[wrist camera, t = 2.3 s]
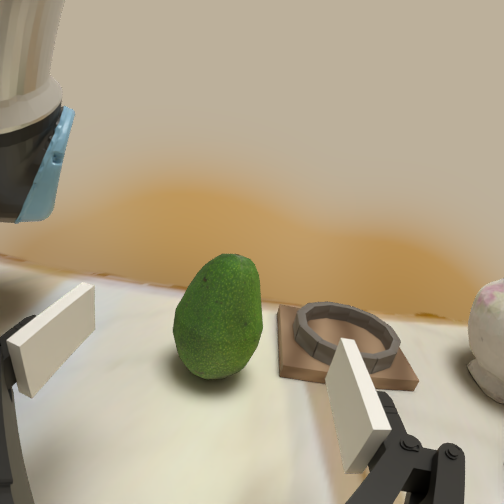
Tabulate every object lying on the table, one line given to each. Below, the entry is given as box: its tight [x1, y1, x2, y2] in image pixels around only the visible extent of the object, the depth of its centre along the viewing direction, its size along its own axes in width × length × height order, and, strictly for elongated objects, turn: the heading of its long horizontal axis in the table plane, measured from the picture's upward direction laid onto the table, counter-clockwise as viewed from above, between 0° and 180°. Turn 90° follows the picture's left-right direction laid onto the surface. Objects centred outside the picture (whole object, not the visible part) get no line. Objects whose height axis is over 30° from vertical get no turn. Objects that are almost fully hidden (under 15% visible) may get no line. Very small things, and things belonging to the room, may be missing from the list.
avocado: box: [173, 254, 263, 379], centre depth 28 cm, size 8×8×12 cm
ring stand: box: [277, 302, 419, 391], centre depth 37 cm, size 16×14×4 cm
